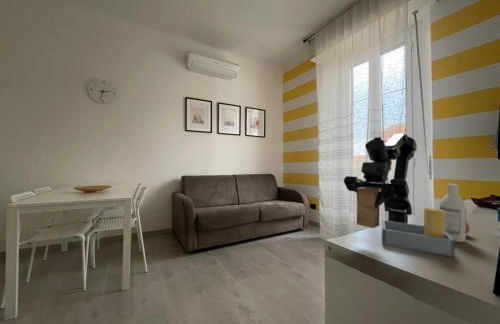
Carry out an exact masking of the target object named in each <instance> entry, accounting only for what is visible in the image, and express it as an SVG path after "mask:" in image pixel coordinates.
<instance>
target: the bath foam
mask: <svg viewBox="0 0 500 324" xmlns="http://www.w3.org/2000/svg"><path fill="white" fill-rule="evenodd" d="M459 187H460V185H459V184H458V183H447V187H446V188H447V190H446V191H447V192H446V194H445V195H444V197H442V199H441V200H440V203H439V209H440V210H444V211H445V231H446V232H447V233H448V234H449V235H450V236H451V237H452V238H453V239H454V240H455V243H457V242H458V243H465V242H466V240H467V239H466V237H467V236H466V235H467V233H466V221H467V206H466V203H465V201H464V200H463V198H462V197H461V196H460V194H459V191H460V190H459Z"/></svg>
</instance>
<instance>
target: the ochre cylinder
mask: <svg viewBox="0 0 500 324" xmlns="http://www.w3.org/2000/svg"><path fill="white" fill-rule="evenodd" d="M423 212H424V213H423V226H424V235H426V236H433V237H439V238H445V211H444V210H440V208H439V209H438V208H432V207H431V208H430V207H424V210H423Z"/></svg>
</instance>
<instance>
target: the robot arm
mask: <svg viewBox="0 0 500 324" xmlns="http://www.w3.org/2000/svg"><path fill="white" fill-rule="evenodd" d="M364 145H365V146H364V147H365V149H366V152H367V155H368V158H369V160H370V161H371V162H362V165H361V170H360V172H361V173H363V179H364V180H362V179H360V178H358V176H353V175H351V176H349V175H347V176H345V177H344V179H343V184H344V186H345V187H346V190H348V191H349V192H355V193H356V194H357V188H361V187H368V188H379V189H380V193H379V195H378V197H377V200H376V203H375V207H376V208H377V207H378V206H382V205H383V206H384V212H388V215H387V216H388V217H387V221H393V222H400V223H407V224H409V223H408V222H409V220H408V219H409V217H408V216H409V215H413V208H412V204H411V201H410V200H409V194H410V189H409V188H410V187H409V184H408V181H407V178H408V177H407V176H408V171H409V163H410V162H409V161H410V160H411V159H413V157H414V156H415V152H417V148H418V146H417V142H416V140H415V138H413V137H410V136H408V134H407V133H395V134H392V135H391V138H389V139H388V140H387V141H386V142H385V141H384V140H383V139H382V137H379V136H378V137H377V136H376V137H373V139H371V140H369V141H368V142H366V143H365V144H364ZM394 160H395V166H394V167H395V168H394V174H393V178H391V179H390V183H386V182H387V181H389V177H388V176H389V173H390V171H391V170H392V164H393V162H392V161H394Z"/></svg>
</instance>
